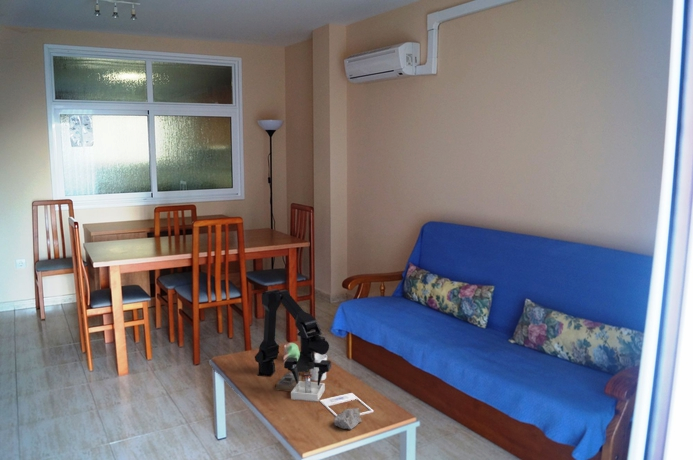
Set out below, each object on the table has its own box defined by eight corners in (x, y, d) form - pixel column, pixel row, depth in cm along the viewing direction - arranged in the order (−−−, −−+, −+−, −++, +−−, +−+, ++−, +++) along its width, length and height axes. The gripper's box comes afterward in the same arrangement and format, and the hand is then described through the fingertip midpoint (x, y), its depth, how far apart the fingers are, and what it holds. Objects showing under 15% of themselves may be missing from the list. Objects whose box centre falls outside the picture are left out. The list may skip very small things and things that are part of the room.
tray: (291, 399, 227) (290, 392, 227) (299, 387, 238) (299, 381, 238) (317, 401, 225) (317, 394, 225) (324, 390, 236) (324, 383, 235)
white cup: (328, 374, 252) (328, 353, 250) (326, 382, 244) (325, 360, 242) (311, 374, 252) (310, 352, 251) (308, 381, 245) (307, 359, 243)
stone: (330, 425, 206) (330, 410, 205) (349, 417, 213) (349, 402, 212) (346, 433, 201) (346, 418, 200) (365, 424, 208) (365, 409, 207)
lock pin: (303, 394, 230) (302, 376, 229) (305, 391, 233) (305, 373, 232) (310, 395, 230) (310, 376, 229) (313, 392, 233) (312, 373, 232)
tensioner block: (284, 379, 247) (284, 370, 246) (301, 381, 245) (301, 372, 244) (276, 389, 237) (276, 380, 236) (294, 391, 235) (294, 382, 234)
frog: (281, 355, 259) (300, 357, 259) (285, 336, 266) (304, 338, 266) (281, 367, 268) (300, 369, 268) (285, 349, 275) (303, 351, 275)
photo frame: (352, 392, 232) (373, 410, 216) (352, 394, 232) (373, 412, 217) (319, 399, 226) (339, 418, 210) (319, 402, 226) (339, 421, 210)
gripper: (279, 353, 223) (280, 390, 225) (324, 356, 219) (325, 394, 221) (288, 343, 234) (288, 379, 236) (331, 346, 230) (331, 383, 232)
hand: (308, 384), depth 231 cm, fingers open, 9 cm apart
